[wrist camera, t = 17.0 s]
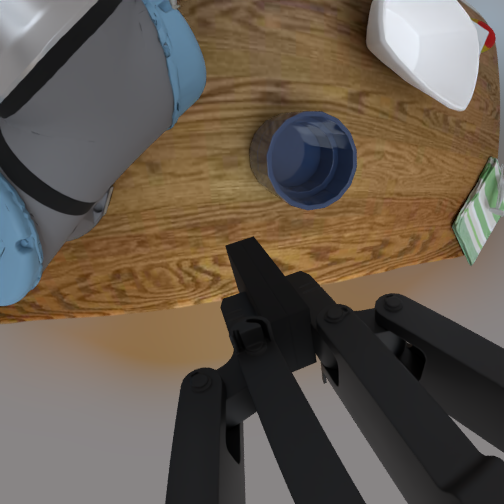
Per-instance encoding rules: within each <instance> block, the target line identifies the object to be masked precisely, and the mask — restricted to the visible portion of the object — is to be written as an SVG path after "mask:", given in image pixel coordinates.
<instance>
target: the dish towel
mask: <svg viewBox="0 0 504 504" xmlns="http://www.w3.org/2000/svg"><path fill="white" fill-rule="evenodd" d="M500 176H501V170H500V167H499V164H498V161H497V158H494V159H493V158H492V156H491V157H490V158H489V159H488V162H487V164H486V165H485V167H484V169H483V172H482V173H481V175H480V177H479V181H478V183H477V185H476V186H475V188H474V189H473V191H472V192H471V193H470V195H469V197H468V199H467V201H466V202H465V204H464V206H463V207H462V209H461V211H460V213H459V214H458V216H457V218H456V219H455V221H454V223H453V225H452V228H453V230H454V233H455V235H456V237H457V239H458V241H459V244H460V246H461V248H462V250H463V252H464V254H465V256H466V258H467V261H468V263H469V264H470V265H472V264H473V263H474V262H475V260H476V258H477V256H478V254H479V252H480V251H481V249H482V247H483V246H484V244H485V242H486V240H487V239H488V237H489V235H490V234H491V232H492V230H493V228H494V226H495V225H496V223H497V222H498V220H499V219H500V217H501V216H499V215H496V214H494V213H492V212H490V211H489V210H488V209H489V208H496V202H497V197H498V190H497V185H498V183H499V179H500ZM502 178H503V177H502ZM498 202H499V200H498ZM497 207H498V206H497ZM499 209H500V210H502V211H504V200H502V203H501V206H500V208H499Z"/></svg>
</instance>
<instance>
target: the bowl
mask: <svg viewBox="0 0 504 504" xmlns="http://www.w3.org/2000/svg"><path fill="white" fill-rule="evenodd" d="M366 45H367V47H368V49H369V50H370V51H371V52H372V53H373V54H374V55H375V56H376V57H377V58H378V59H379V60H380V61H381V62H383V63H384V64H385V65H386V66H388V67H389V68H391V69H392V70H393V71H394V72H395V73H396V74H397V75H399V76H400V77H401V78H402V79H403V80H405V81H406V82H408V83H409V84H411V85H412V86H414V87H416V88H417V89H419V90H421V91H422V92H424V93H426V94H427V95H429V96H431V97H432V98H434V99H436V100H437V101H439V102H440V103H442V104H444V105H445V106H447V107H448V108H450V109H453V110H457V111H463V110H465V109H466V107H467V105H468V104H469V102H470V100H471V98H472V95H473V92H474V88H475V84H476V80H477V75H478V66H479V41H478V35H477V30H476V27H475V26H474V24H473V22H472V21H471V19H470V17H469V16H468V14H467V13H466V11H465V10H464V9H463V8H462V6H461V5H460V4H459V3H458V1H457V0H373V1H372V4H371V8H370V13H369V19H368V25H367V35H366Z"/></svg>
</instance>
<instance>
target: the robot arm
mask: <svg viewBox="0 0 504 504" xmlns="http://www.w3.org/2000/svg"><path fill="white" fill-rule="evenodd" d="M205 84H206V67H205V62H204V59H203V55H202V52H201V50H200V47H199V45H198V42H197V40H196V38H195V36H194V34H193V32H192V30H191V29H190V27H189V25H188V24H187V22H186V20H185V19H184V17H183V16H182V15H181V13H180V12H179V11H178V10H174V9H173V8H172V6H171V4H170V2H169V0H0V306H7V305H11V304H14V303H16V302H18V301H19V300H21V299H22V298H23V297H24V296H25V295H26V294H27V293H28V292H29V291H30V290H32V289H33V288H34V287H35V286H36V285H37V284H38V282H39V280H40V278H41V276H42V273H43V271H44V270H45V268H46V267H47V266H48V264H49V263H50V261H51V260H52V259H53V257H54V256H55V255H56V253H57V252H58V251H59V249H60V248H61V247H62V246H63V244H64V243H65V242H66V241H71V240H74V239H77V238H79V237H81V236H83V235H84V234H86V233H88V232H89V231H90V230H91V229H92V228H94V227H95V226H96V224H97V223H98V222H99V221H100V219H101V218H102V216H104V215H105V214H106V211H107V208H108V205H109V203H110V199H111V196H112V190H113V183H114V182H115V181H116V180H117V179H118V178H119V177H120V176H121V175H122V173H123V172H124V171H125V170H126V169H127V168H128V167H129V166H130V165H131V164H132V163H133V162H134V161H135V160H136V159H137V158H138V157H139V156H140V155H141V154H142V153H143V152H144V151H145V150H146V149H147V148H148V147H149V146H150V145H151V144H152V143H153V142H154V141H155V140H156V139H157V138H158V137H159V136H160V135H162V134H163V133H164V132H165V131H166V130H169V129H171V128H172V127H173V126H174V124H175V123H176V122H177V120H178V118H179V117H180V116H181V115H182V114H183V113H184V112H185V111H186V110H187V109H188V108H189V107H190V106H191V105H192V104H194V103H195V102H196V101H197V100H198V99H199V97H200V95H201V94H202V92H203V89H204V87H205ZM226 250H227V253H228V257H229V260H230V263H231V267H232V270H233V273H234V277H235V280H236V283H237V287H238V290H239V292H240V293H239V294H236V295H233V296H230V297H227V298H224V299H223V300H222V304H221V310H222V313H223V317H224V319H225V322H226V325H227V328H228V331H229V337H230V340H231V343H232V345H233V348H234V352H233V355H232V357H231V359H230V360H229V361H228V362H227V363H226V364H225V365H224V366H222V367H220V368H219V369H217V370H214V369H212V368H200V369H197V370H194V371H192V372H190V373H189V374H188V375H187V376H186V377H185V378H184V379H183V382H182V384H181V389H180V396H179V402H178V408H177V415H176V422H175V429H174V436H173V443H172V451H171V459H170V467H169V475H168V484H167V494H166V503H165V504H245V475H244V438H243V420H245V419H247V418H248V417H249V416H251V415H252V414H254V413H255V412H257V413H258V415H259V418H260V420H261V423H262V426H263V428H264V431H265V433H266V436H267V438H268V441H269V443H270V446H271V448H272V450H273V453H274V456H275V458H276V460H277V463H278V465H279V468H280V470H281V472H282V475H283V477H284V479H285V482H286V484H287V486H288V489H289V491H290V493H291V496H292V498H293V500H294V502H295V504H366V503H365V501H364V500H363V498H362V496H361V495H360V493H359V491H358V490H357V488H356V486H355V484H354V483H353V481H352V479H351V477H350V476H349V474H348V473H347V471H346V469H345V467H344V465H343V464H342V462H341V460H340V458H339V457H338V455H337V453H336V451H335V449H334V448H333V446H332V444H331V442H330V441H329V439H328V437H327V435H326V434H325V432H324V430H323V428H322V426H321V425H320V423H319V421H318V419H317V417H316V416H315V414H314V412H313V410H312V408H311V407H310V405H309V403H308V401H307V399H306V398H305V396H304V394H303V392H302V390H301V388H300V387H299V385H298V383H297V381H296V379H295V377H294V376H293V374H292V372H294V371H296V370H299V369H301V368H304V367H306V366H308V365H311V364H313V363H315V362H316V355H317V356H318V358H319V359H320V361H321V369H322V379H323V382H324V383H326V378H327V379H328V381H329V382H330V384H331V385H332V387H333V388H334V390H335V392H336V393H337V395H338V396H339V398H340V399H341V401H342V402H343V404H344V405H345V407H346V409H347V410H348V412H349V413H350V415H351V416H352V418H353V420H354V421H355V423H356V424H357V426H358V427H359V429H360V430H361V432H362V434H363V435H364V437H365V438H366V440H367V441H368V443H369V444H370V446H371V447H372V449H373V451H374V452H375V453H376V455H377V457H378V458H379V460H380V461H381V462H382V464H383V466H384V467H385V469H386V470H387V472H388V474H389V475H390V477H391V478H392V480H393V481H394V483H395V484H396V486H397V487H398V489H399V491H400V492H401V493H402V495H403V497H404V498H405V500H406V501H407V503H408V504H504V461H503V460H501V459H500V458H498V457H496V456H485V455H483V454H481V453H480V452H479V451H478V450H477V449H476V447H475V446H474V445H473V444H472V443H471V441H470V440H469V439H468V438H467V437H466V436H465V434H464V433H463V432H462V431H461V429H460V428H459V427H458V426H457V425H456V424H455V422H454V421H453V420H452V419H451V418H450V417H449V416H451V417H452V418H454V419H455V420H457V421H458V422H460V423H461V424H462V425H464V426H465V427H467V428H469V429H470V430H471V431H473V432H474V433H476V434H477V435H479V436H480V437H482V438H483V439H484V440H486V441H487V442H489V443H490V444H492V445H494V446H495V447H496V448H498V449H499V450H501V451H502V452H504V349H503V348H502V347H500V346H498V345H496V344H494V343H493V342H490V341H489V340H487V339H485V338H483V337H482V336H480V335H478V334H476V333H474V332H472V331H471V330H468V329H467V328H465V327H463V326H461V325H459V324H457V323H456V322H453V321H452V320H450V319H448V318H446V317H444V316H442V315H440V314H438V313H436V312H435V311H433V310H431V309H429V308H427V307H425V306H423V305H421V304H419V303H417V302H415V301H413V300H411V299H409V298H407V297H406V296H403V295H400V294H392V293H391V294H386V295H383V296H381V297H379V299H378V300H377V301H376V304H375V308H373V309H367V310H362V311H353V310H352V309H351V308H349V307H348V306H345V305H341V304H336V303H335V301H333V299H332V298H331V297H330V296H329V295H328V294H327V293H326V292H325V291H324V290H323V288H322V287H320V285H319V284H318V283H317V282H316V281H315V280H314V279H313V278H312V277H311V276H310V275H309V274H307V273H304V272H302V271H299V272H296V273H293V274H290V275H288V276H284V274H283V273H282V272H281V271H280V269H279V268H278V267H277V266H276V264H275V263H274V262H273V260H272V259H271V258H270V257H269V255H268V254H267V253H266V252H265V250H264V249H263V248H262V246H261V245H260V244H259V243H258V241H257V240H256V239H255V238H254V237H251V238H247V239H244V240H241V241H238V242H235V243H232V244H229V245H226ZM406 341H407V342H408V343H407V342H406ZM409 343H410V344H409ZM315 353H316V354H315ZM448 415H449V416H448Z"/></svg>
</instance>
